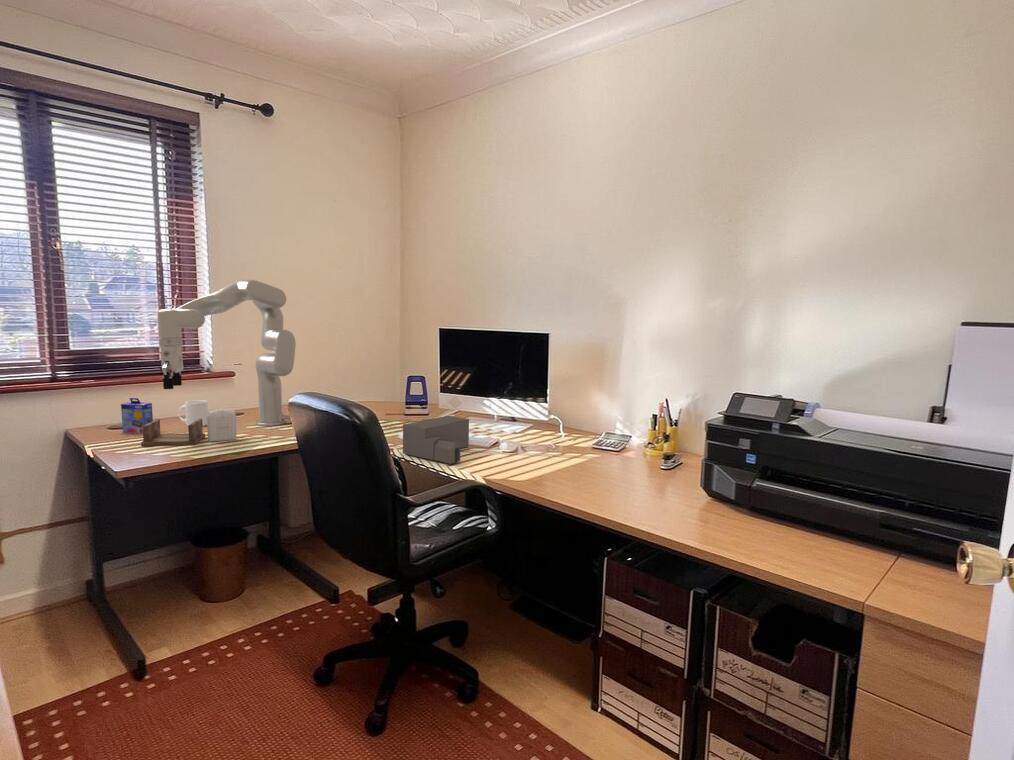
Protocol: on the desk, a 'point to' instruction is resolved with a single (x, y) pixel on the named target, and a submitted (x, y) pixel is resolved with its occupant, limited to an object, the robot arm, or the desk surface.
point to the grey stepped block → (436, 438)
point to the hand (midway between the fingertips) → (172, 387)
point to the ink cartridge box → (135, 416)
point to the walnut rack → (171, 435)
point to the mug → (195, 411)
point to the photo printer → (221, 425)
